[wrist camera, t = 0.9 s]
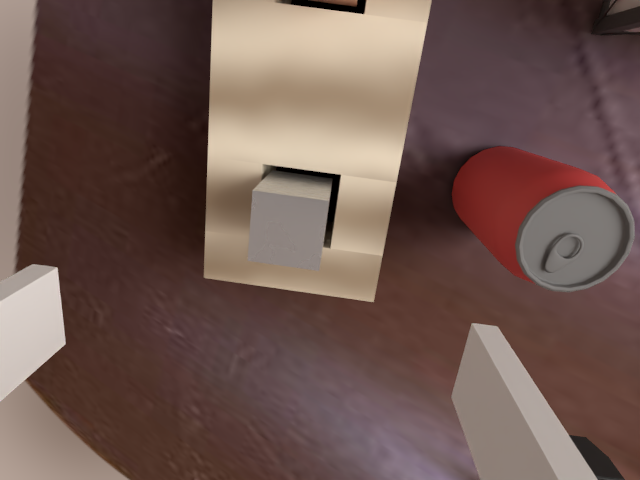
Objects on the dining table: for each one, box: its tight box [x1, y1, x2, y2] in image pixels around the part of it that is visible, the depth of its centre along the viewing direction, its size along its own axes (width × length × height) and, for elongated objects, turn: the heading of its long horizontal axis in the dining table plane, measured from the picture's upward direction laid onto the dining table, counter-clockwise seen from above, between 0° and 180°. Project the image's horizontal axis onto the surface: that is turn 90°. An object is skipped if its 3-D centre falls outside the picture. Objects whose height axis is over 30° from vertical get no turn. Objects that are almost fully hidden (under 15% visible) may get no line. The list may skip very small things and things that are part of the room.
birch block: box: [204, 0, 432, 302], centre depth 27 cm, size 26×12×6 cm, turn 173°
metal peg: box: [248, 170, 333, 271], centre depth 25 cm, size 4×4×6 cm
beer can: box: [452, 146, 635, 292], centre depth 26 cm, size 7×7×12 cm
